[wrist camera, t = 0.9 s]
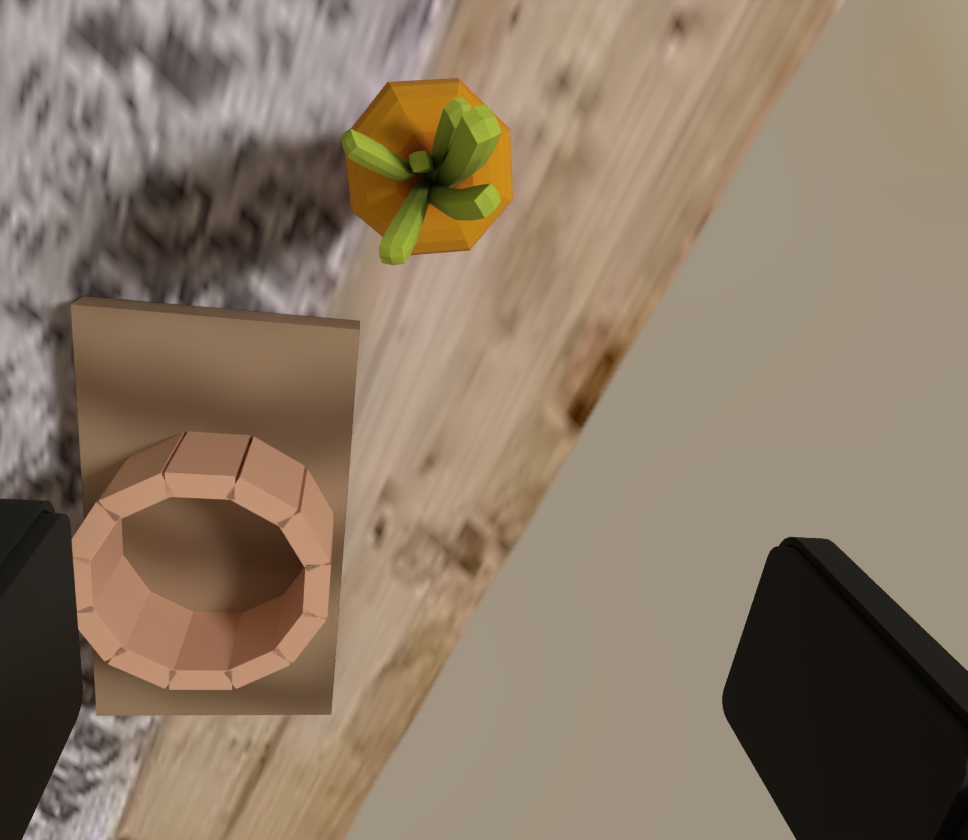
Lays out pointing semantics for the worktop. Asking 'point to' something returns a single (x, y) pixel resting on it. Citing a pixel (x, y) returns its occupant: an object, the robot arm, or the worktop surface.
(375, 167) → the carrot
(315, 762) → the worktop surface
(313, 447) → the walnut board
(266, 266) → the worktop surface
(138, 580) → the terracotta cup
